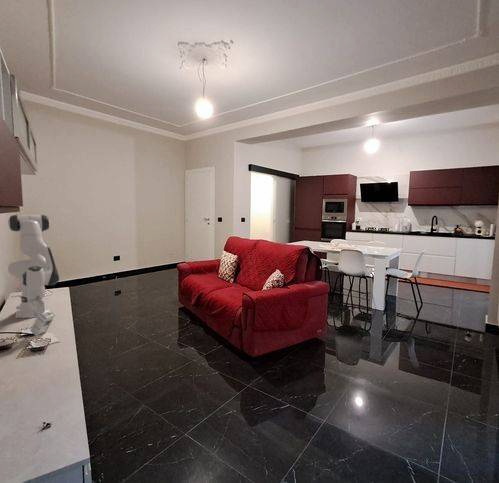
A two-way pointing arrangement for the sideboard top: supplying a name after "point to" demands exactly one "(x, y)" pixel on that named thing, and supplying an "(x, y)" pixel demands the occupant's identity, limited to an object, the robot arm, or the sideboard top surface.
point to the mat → (48, 335)
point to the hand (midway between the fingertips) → (36, 317)
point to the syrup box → (42, 323)
